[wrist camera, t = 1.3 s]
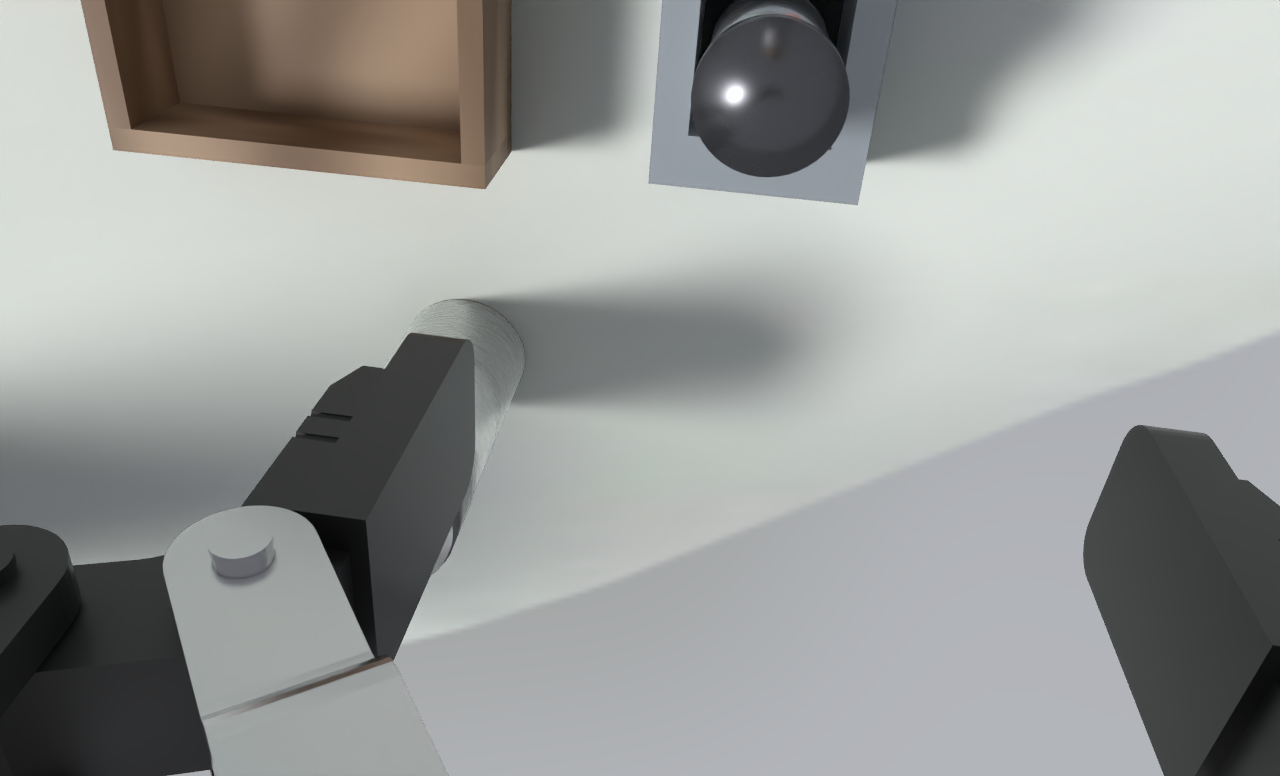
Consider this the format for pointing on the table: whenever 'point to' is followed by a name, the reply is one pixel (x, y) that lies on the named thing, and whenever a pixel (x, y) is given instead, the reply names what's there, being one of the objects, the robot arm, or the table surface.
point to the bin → (311, 83)
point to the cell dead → (477, 378)
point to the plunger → (770, 88)
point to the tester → (824, 180)
